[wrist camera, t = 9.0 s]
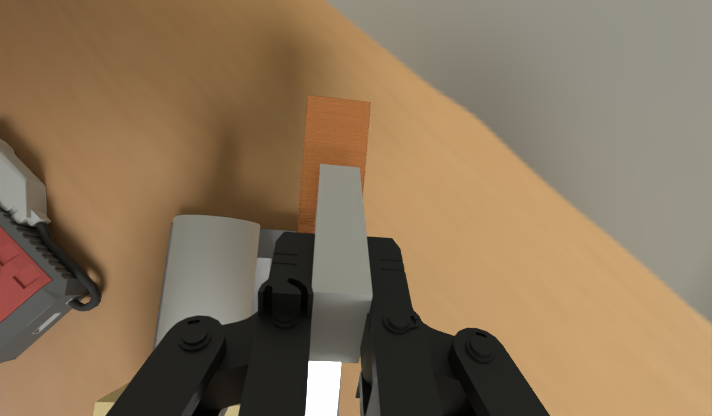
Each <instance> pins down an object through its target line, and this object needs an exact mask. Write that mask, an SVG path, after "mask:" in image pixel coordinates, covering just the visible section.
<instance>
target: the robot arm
mask: <svg viewBox="0 0 712 416" xmlns="http://www.w3.org/2000/svg"><path fill="white" fill-rule="evenodd" d="M402 261H403V260H402V255H401V250H400V248H399V247H398V245H397V244H396V243H395V241H394V240H393V239H392V238H381V237H367V235H366V225H365V215H364V206H363V196H362V186H361V176H360V167H349V166H338V165H327V164H320V173H319V185H318V196H317V208H316V220H315V234H313V233H299V232H285V231H284V232H283V233H282V235H281V236H280V237H279V238H278V239H277V240H276V242H275V248H274V253H273V258H272V264H271V268H270V273H269V278H268V280H266V281H265V282H264V283H263V284H261V286H260V288H259V290H258V311H257V312H256V313H255V314H253V315H252V316H250V317H248V318H246V319H244V320H241V321H238V322H234V323H229V324H224V325H222V324H221V323H220V322H219V321H218V320H217V319H215V318H212V317H210V316H202V315H197V316H192V317H187V318H185V319H183V320H181V321H179V322H177V323H176V324H175V325H174V326H173V327H172V328H171V329H170V330H169V331H168V332H167V333H166V335H165V336H164V337H163V339H162V340H161V341H160V343H159V344H158V345H157V347H156V348H155V349H154V351H153V352H152V353H151V355H150V356H149V357H148V359H147V360H146V362H145V363H144V364H143V366H142V367H141V368H140V370H139V371H138V372H137V374H136V375H135V376H134V378H133V379H132V380H131V382H130V383H129V384H128V386H127V387H126V388H125V390H124V391H123V393H122V394H121V395H120V397H119V398H118V399H117V401H116V402H115V403H114V405H113V406H112V407H111V409H110V410H109V411H108V413H107V414H106V415H105V416H225V414H226V412H227V409H228V407H230V406H234V405H237V404H240V408H239V413H238V416H306V405H307V388H308V371H309V361H316V362H340V363H359V359H360V354H361V373H360V378H359V382H358V387H357V392H356V398H360V414H361V416H550V415H549V414H548V412H547V411H546V409H545V408H544V406H543V405H542V403H541V402H540V400H539V399H538V397H537V396H536V394H535V393H534V391H533V390H532V388H531V387H530V385H529V384H528V382H527V381H526V379H525V378H524V376H523V375H522V373H521V372H520V370H519V369H518V367H517V366H516V364H515V363H514V361H513V360H512V358H511V357H510V355H509V354H508V352H507V351H506V349H505V348H504V347H503V345H502V344H501V343H500V342H499V341H498V340H497V338H496V337H494V336H493V335H491V334H490V333H488V332H486V331H484V330H481V329H478V328H465V329H463V330H460V331H459V332H458V333H457V334H456V335H455V336H453V335H450V334H447V333H444V332H441V331H437V330H435V329H433V328H430V327H429V326H427V325H426V324H424V323H423V322H422V321H421V319H420V317H419V315H418V314H417V313H416V312H415V311H414V310H413V308H412V304H411V299H410V294H409V289H408V284H407V279H406V274H405V272H404V265H403V262H402Z"/></svg>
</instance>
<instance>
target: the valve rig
mask: <svg viewBox="0 0 712 416" xmlns="http://www.w3.org/2000/svg"><path fill="white" fill-rule="evenodd" d="M284 231H285V232H297V231H286V230H272V229H260V225H259V224H257V223H255V222H251V221H247V220H242V219H236V218H229V217H220V216H209V215H178V216H175V217H174V222H172V223H171V230H170V237H169V244H168V251H167V258H166V265H165V272H164V279H163V286H162V293H161V300H160V306H159V313H158V320H157V327H156V334H155V341H154V348H153V351H154V349H155V348H156V347H157V345H158V344H159V343H160V341H161V340H162V339H163V337H164V336H165V335H166V333H167V332H168V331H169V330H170V329H171V328H172V327H173V326H174V325H175V324H176V323H177V322H179V321H181V320H183V319H185V318H187V317H192V316H197V315H202V316H210V317H212V318H215V319H217V320H218V321H219V322H220V323H221V324H222V325H224V324H229V323H234V322H238V321H241V320H244V319H246V318H248V317H250V316H252V315H253V314H255V313H256V312H257V311H258V290H259V288H260V286H261V284H263V283H264V282H265V281H266V280H268V278H269V273H270V268H271V264H272V258H273V253H274V248H275V242H276V240H277V239H278V238H279V237H280V236H281V235H282V233H283V232H284ZM341 364H342V363H341ZM340 381H341V366H340V378H339V390H338V402H337V414H336V416H338V414H339V398H340ZM128 384H129V383H128ZM128 384H126V385H124V386H123V387H121V388H119V389H117V390H116V391H114V392H112V393H110V394H108V395H107V396H105V397H103V398H101V399H100V400H98V401H96V402H95V407H94V413H93V416H105V415H106V414H107V413H108V411H109V410H110V409H111V407H112V406H113V405H114V403H115V402H116V401H117V399H118V398H119V397H120V395H121V394H122V393H123V391H124V390H125V388H126V387H127V386H128ZM239 408H240V404H237V405H234V406H230V407H228V409H227V412H226V414H225V416H238V413H239Z"/></svg>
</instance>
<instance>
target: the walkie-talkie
mask: <svg viewBox="0 0 712 416" xmlns="http://www.w3.org/2000/svg"><path fill="white" fill-rule="evenodd" d="M50 222H51V220H50V219H49V218H48V217H47V200H46V187H45V185H44V184H43V183H42V182H41V181H40V180H39V179H38V178H37V177H36V176H35V175H34V174H33V173H32V172H31V171H30V169H29V168H28V167H27V166H26V165H25V164H24V163H23V162H22V161H21V160H20V159H19V158H18V157H17V156H16V155H15V154H14V149H13V148H12V147H11V146H10V145H9V144H8V143H6V142H5V141H3V140H1V139H0V363H2V362H6V361H10V360H13V359H16V358H17V357H18V356H19V355H20V354H21V353H23V352H24V351H25V350H26V349H27V348H28V347H29V346H30V345H32V344H33V343H34V342H35V341H36V340H37V339H38V338H39V337H41V336H42V335H43V334H44V333H45V332H46V331H47V330H48V329H50V328H51V327H52V326H53V325H54V324H55V323H56V322H58V321H59V320H60V319H61V318H62V317H63V316H64V315H65V314H67V313H68V312H69V311H70V310H71V309H72V308H73V309H76V310H78V311H89V310H91V309H93V308H94V307H96V306H98V305H99V303H100V302H101V297H102V294H101V292H100V290H99V287H98V286H97V284H96V283H95V282H94V281H93V280H92V279H91V278H90V277H89V276H88V275H87V274H86V273H85V272H84V271H83V270H82V269H81V268H80V267H79V266H78V265H77V264H76V263H75V262H74V261H73V260H72V259H71V258H70V257H69V256H68V255H67V254H66V253H65V251H64V250H63V249H62V248H61V247H60V246H59V245H58V244H57V243H56V242H55V240H54V239H53V237H52V235H51V230H50V228H49V226H48V224H49V223H50ZM37 228H38V229H39V230H38V229H37ZM88 290H89V292H90V294H91V300H90V301H89V302H88V303H87V304H83V303H81V302H80V301H81V300H82V299H83V298H85V297H86V296H87V295H88Z"/></svg>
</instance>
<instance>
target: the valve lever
mask: <svg viewBox="0 0 712 416" xmlns="http://www.w3.org/2000/svg"><path fill="white" fill-rule="evenodd" d="M370 104H371V102H366V101H356V100H347V99H338V98H328V97H319V96H310V95H308V99H307V112H306V125H305V138H304V152H303V165H302V178H301V191H300V204H299V217H298V230H297V232H299V233H313V234H315V220H316V208H317V196H318V185H319V173H320V164H327V165H338V166H349V167H360V176H361V186H362V196H363V188H364V176H365V164H366V152H367V140H368V128H369V116H370ZM340 366H341V363H340V362H316V361H309V371H308V388H307V405H306V416H336V414H337V402H338V390H339V378H340Z"/></svg>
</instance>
